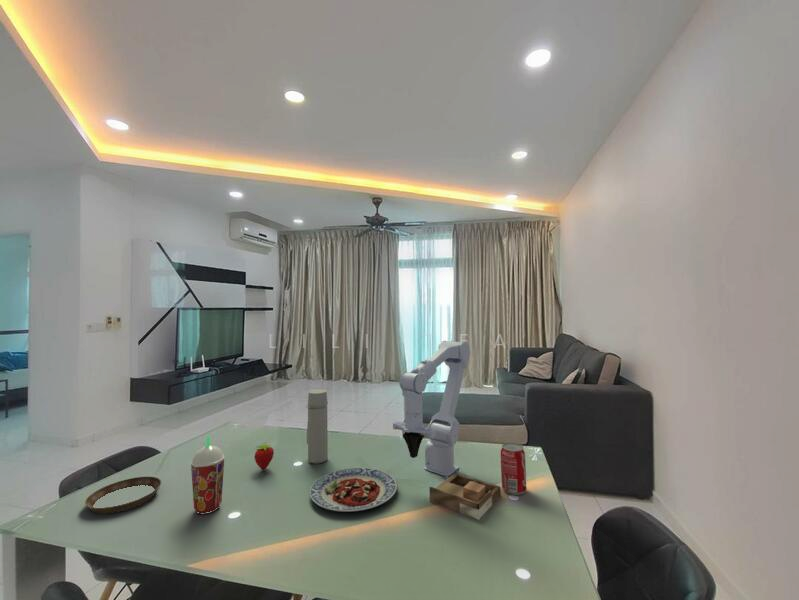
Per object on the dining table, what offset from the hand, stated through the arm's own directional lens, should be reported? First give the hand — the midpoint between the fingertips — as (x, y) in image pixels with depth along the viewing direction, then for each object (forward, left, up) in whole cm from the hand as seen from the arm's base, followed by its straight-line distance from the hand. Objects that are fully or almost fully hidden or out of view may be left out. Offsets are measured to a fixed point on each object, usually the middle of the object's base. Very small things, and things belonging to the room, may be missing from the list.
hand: (414, 456), depth 110 cm
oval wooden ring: (-65, -55, -10) cm, 86 cm away
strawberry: (-49, -20, -10) cm, 54 cm away
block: (+20, +1, -7) cm, 21 cm away
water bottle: (-41, -4, -10) cm, 42 cm away
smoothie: (-40, -43, -10) cm, 59 cm away
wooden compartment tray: (+16, +3, -9) cm, 19 cm away
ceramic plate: (-13, -13, -10) cm, 21 cm away
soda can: (+25, +16, -10) cm, 31 cm away
